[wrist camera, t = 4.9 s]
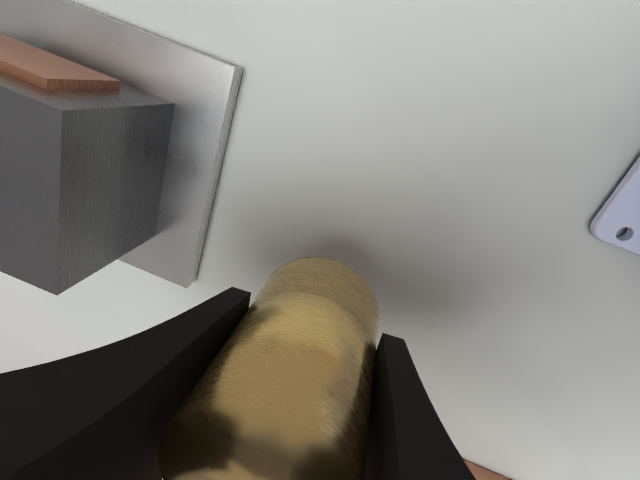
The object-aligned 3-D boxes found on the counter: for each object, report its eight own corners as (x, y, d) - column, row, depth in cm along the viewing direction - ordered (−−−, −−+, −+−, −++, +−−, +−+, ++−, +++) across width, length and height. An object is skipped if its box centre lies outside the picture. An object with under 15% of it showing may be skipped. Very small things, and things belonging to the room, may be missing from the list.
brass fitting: (399, 286, 11) (398, 469, 6) (352, 375, 13) (319, 581, 8) (280, 238, 12) (175, 372, 6) (249, 332, 13) (145, 502, 8)
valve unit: (243, 68, 14) (142, 55, 8) (195, 280, 18) (107, 363, 13) (-46, -44, 14) (-319, -125, 9) (-27, 187, 19) (-204, 228, 13)
